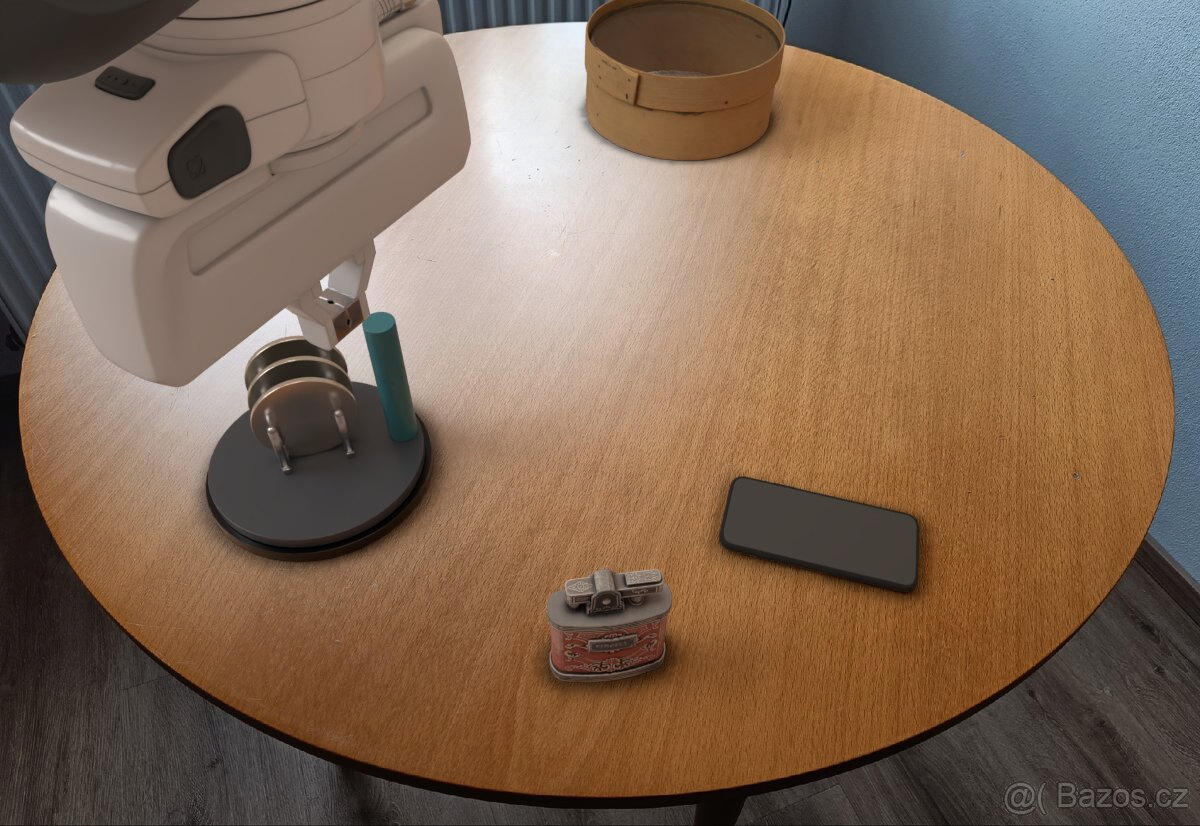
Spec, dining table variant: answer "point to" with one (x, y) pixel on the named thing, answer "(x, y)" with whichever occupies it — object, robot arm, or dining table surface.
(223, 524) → the rack base
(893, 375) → the dining table surface
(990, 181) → the dining table surface
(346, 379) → the dish rack
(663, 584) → the lighter
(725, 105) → the steamer basket
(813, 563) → the smartphone
